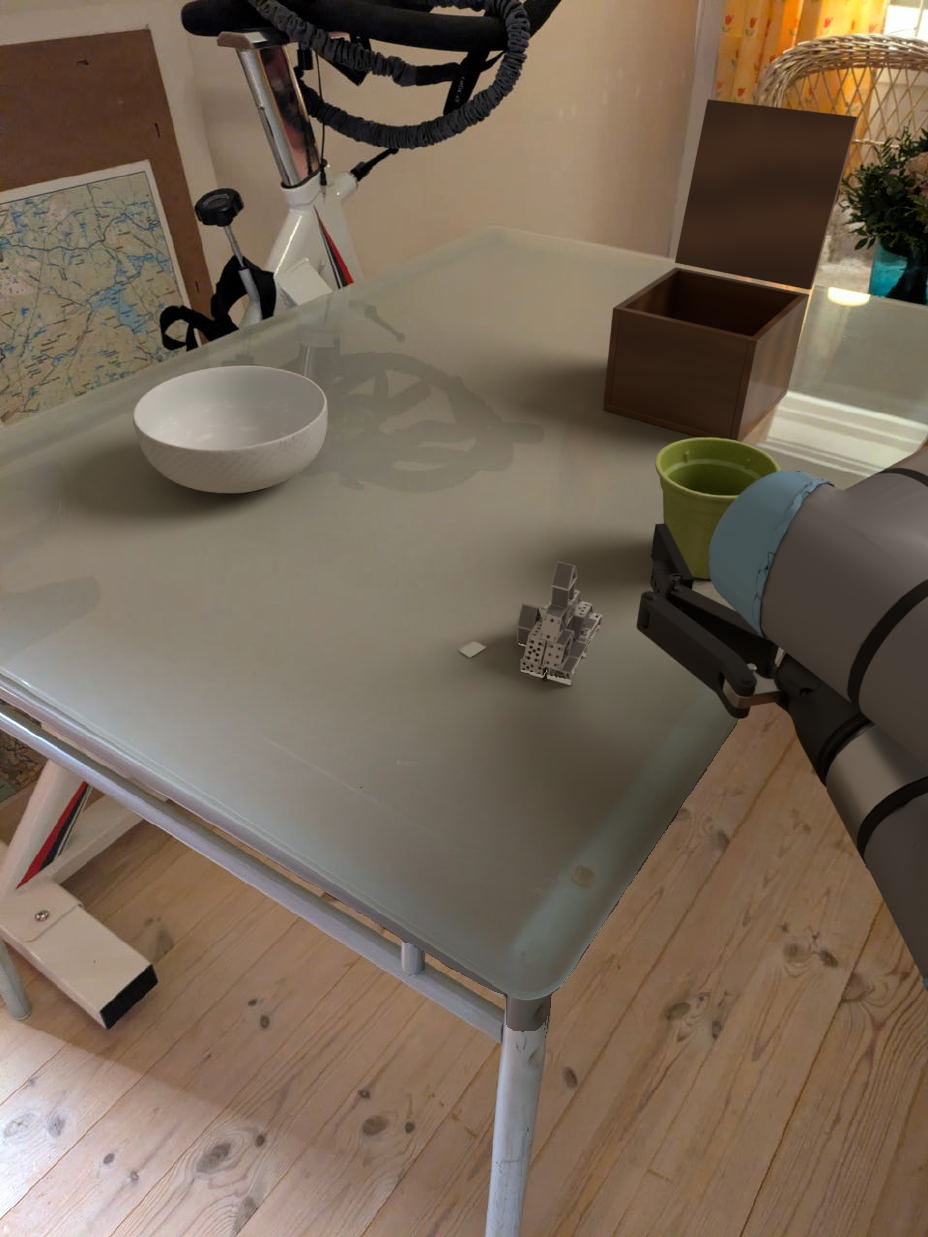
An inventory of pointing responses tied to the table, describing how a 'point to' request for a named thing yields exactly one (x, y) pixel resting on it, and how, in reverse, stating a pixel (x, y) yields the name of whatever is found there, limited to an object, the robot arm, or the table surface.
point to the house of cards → (557, 628)
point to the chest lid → (764, 191)
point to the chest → (703, 353)
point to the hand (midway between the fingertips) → (753, 534)
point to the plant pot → (705, 489)
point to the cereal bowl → (232, 427)
